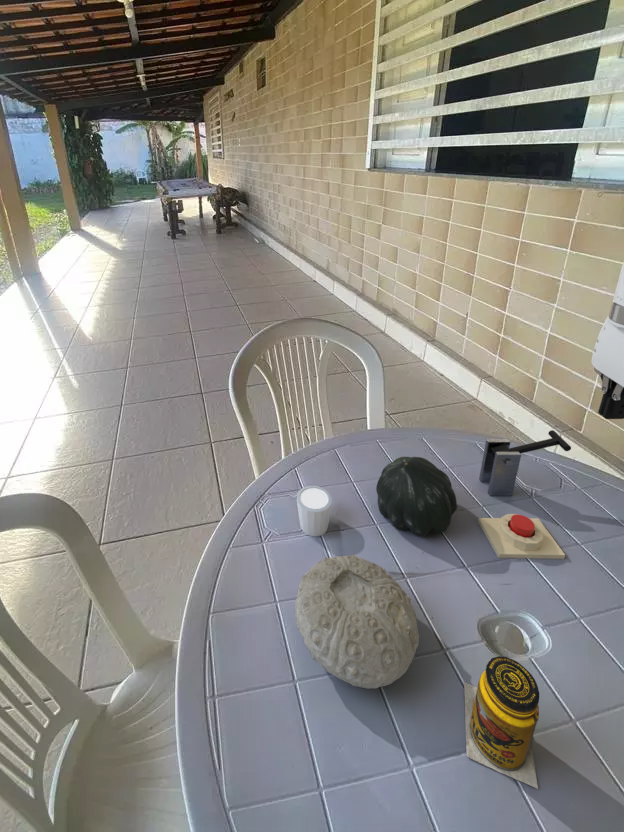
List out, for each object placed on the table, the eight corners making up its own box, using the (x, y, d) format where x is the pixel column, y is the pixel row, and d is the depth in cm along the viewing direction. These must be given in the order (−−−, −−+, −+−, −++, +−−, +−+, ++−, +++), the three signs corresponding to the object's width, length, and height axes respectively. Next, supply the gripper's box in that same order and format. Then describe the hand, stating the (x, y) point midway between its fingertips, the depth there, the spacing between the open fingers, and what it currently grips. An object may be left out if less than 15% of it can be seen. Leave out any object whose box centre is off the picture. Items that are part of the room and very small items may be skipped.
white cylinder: (332, 540, 81) (332, 513, 79) (296, 537, 82) (295, 510, 80) (330, 512, 87) (331, 486, 85) (297, 510, 89) (296, 483, 86)
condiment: (466, 757, 51) (480, 697, 47) (463, 683, 59) (476, 625, 54) (537, 790, 48) (559, 729, 44) (526, 707, 56) (544, 648, 51)
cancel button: (525, 521, 78) (527, 514, 78) (537, 537, 75) (539, 530, 74) (505, 521, 79) (507, 514, 78) (516, 537, 75) (517, 530, 75)
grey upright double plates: (512, 477, 94) (521, 432, 89) (536, 508, 85) (547, 461, 81) (456, 477, 95) (463, 433, 90) (474, 508, 86) (482, 461, 82)
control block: (536, 526, 81) (540, 510, 80) (562, 564, 74) (567, 547, 72) (476, 526, 82) (479, 510, 81) (497, 563, 75) (501, 546, 73)
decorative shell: (404, 588, 71) (409, 545, 68) (427, 717, 55) (436, 669, 52) (298, 575, 75) (297, 533, 71) (291, 693, 59) (289, 646, 55)
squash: (467, 481, 86) (419, 428, 85) (476, 542, 73) (419, 481, 73) (408, 503, 94) (363, 454, 93) (406, 562, 81) (354, 507, 80)
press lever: (555, 436, 87) (554, 427, 86) (571, 452, 82) (570, 442, 82) (489, 452, 89) (487, 443, 89) (501, 468, 85) (499, 459, 84)
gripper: (715, 334, 58) (673, 444, 64) (629, 299, 72) (602, 393, 78) (656, 335, 58) (621, 444, 65) (582, 301, 72) (559, 393, 79)
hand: (611, 416), depth 72 cm, fingers closed
